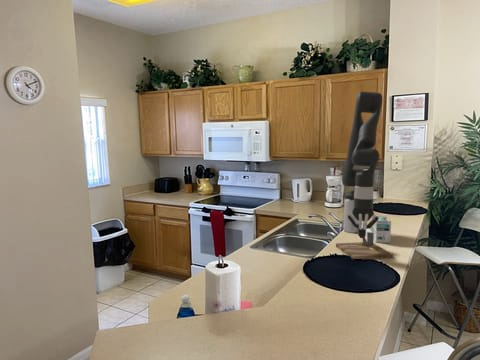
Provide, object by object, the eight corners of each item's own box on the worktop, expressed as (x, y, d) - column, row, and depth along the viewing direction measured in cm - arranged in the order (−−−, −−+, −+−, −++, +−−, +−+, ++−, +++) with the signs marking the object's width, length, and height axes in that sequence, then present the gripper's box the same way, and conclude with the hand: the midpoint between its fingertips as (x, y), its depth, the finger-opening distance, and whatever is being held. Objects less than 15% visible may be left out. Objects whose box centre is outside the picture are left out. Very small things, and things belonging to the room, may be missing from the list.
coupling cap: (358, 234, 158) (358, 223, 158) (372, 235, 157) (372, 224, 156) (362, 245, 142) (363, 233, 142) (378, 246, 141) (378, 234, 140)
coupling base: (335, 246, 159) (336, 234, 158) (370, 244, 161) (371, 233, 160) (353, 259, 141) (354, 246, 140) (392, 257, 143) (393, 244, 143)
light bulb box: (390, 243, 163) (391, 221, 162) (375, 242, 165) (376, 220, 163) (385, 237, 174) (386, 216, 172) (371, 236, 175) (372, 215, 174)
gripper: (347, 197, 142) (346, 239, 144) (382, 199, 139) (380, 241, 141) (346, 195, 149) (344, 234, 151) (378, 196, 146) (376, 236, 148)
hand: (361, 237), depth 146 cm, fingers closed
